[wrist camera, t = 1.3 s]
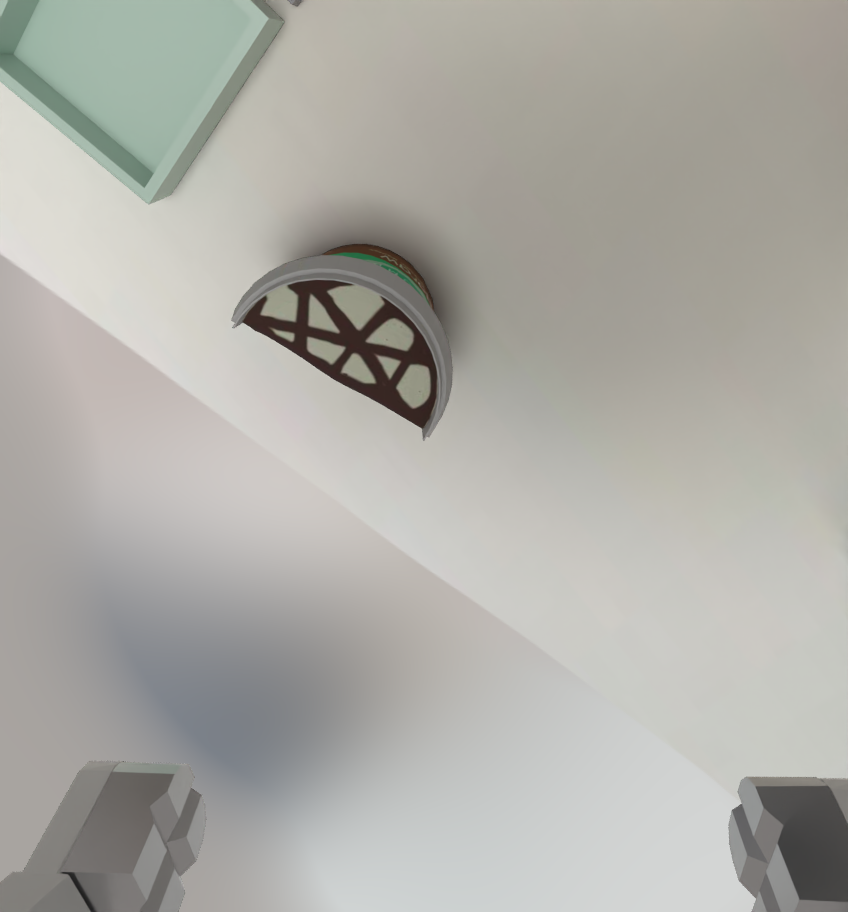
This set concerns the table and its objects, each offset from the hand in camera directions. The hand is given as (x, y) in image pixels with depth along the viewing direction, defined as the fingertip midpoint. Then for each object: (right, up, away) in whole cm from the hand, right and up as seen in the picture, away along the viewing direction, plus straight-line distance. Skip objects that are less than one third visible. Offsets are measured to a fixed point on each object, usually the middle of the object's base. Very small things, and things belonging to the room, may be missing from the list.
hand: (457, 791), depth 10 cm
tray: (-16, +27, +26) cm, 41 cm away
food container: (-3, +16, +32) cm, 36 cm away
